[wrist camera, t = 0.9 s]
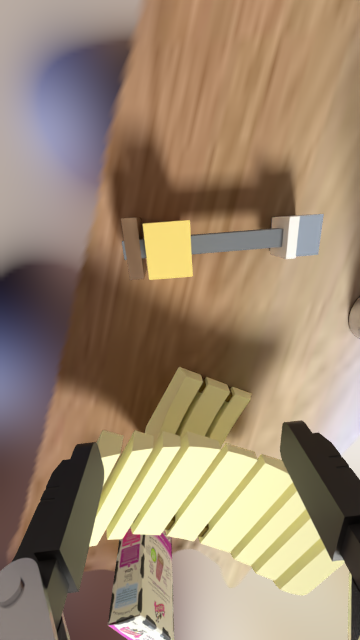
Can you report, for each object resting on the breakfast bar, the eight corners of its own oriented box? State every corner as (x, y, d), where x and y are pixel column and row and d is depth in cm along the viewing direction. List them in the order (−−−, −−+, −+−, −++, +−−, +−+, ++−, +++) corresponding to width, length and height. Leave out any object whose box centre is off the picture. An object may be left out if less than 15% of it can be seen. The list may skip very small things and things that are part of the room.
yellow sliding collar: (181, 220, 29) (189, 220, 21) (184, 261, 30) (192, 276, 23) (147, 222, 29) (142, 223, 21) (152, 264, 30) (149, 280, 22)
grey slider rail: (307, 225, 27) (316, 226, 25) (305, 242, 28) (314, 244, 26) (124, 240, 26) (121, 241, 24) (126, 257, 27) (124, 259, 25)
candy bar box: (123, 493, 46) (105, 626, 31) (147, 484, 46) (140, 615, 31) (149, 525, 50) (145, 655, 35) (171, 517, 50) (176, 646, 35)
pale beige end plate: (281, 216, 27) (299, 216, 24) (278, 253, 29) (295, 258, 25) (272, 217, 27) (289, 216, 24) (269, 254, 29) (285, 259, 25)
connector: (295, 215, 30) (323, 214, 25) (292, 249, 31) (317, 254, 26) (271, 217, 30) (294, 216, 25) (269, 251, 31) (290, 256, 26)
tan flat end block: (140, 217, 29) (136, 217, 24) (146, 269, 31) (144, 278, 26) (127, 218, 29) (120, 218, 24) (134, 270, 31) (129, 280, 26)
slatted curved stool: (89, 426, 40) (39, 572, 23) (125, 346, 35) (94, 459, 18) (244, 471, 47) (291, 608, 30) (293, 409, 42) (380, 532, 25)
